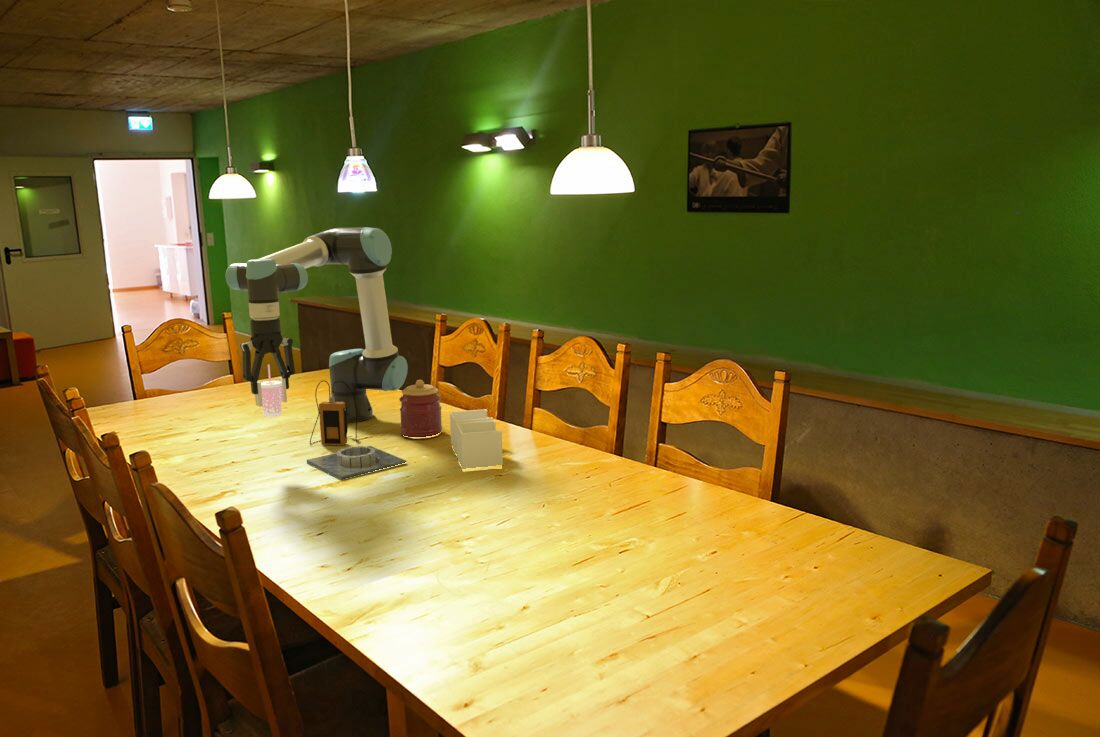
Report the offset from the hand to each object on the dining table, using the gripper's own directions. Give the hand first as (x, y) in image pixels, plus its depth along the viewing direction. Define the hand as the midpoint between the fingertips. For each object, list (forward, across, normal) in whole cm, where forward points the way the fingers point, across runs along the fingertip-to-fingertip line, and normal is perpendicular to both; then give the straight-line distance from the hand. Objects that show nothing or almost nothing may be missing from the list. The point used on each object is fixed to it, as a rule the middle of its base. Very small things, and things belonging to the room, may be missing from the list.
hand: (271, 403), depth 222 cm
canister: (+19, +49, +3) cm, 52 cm away
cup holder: (+19, +19, -10) cm, 28 cm away
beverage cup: (+3, 0, 0) cm, 3 cm away
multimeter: (+19, +26, +14) cm, 35 cm away
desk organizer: (+19, +47, -28) cm, 58 cm away
